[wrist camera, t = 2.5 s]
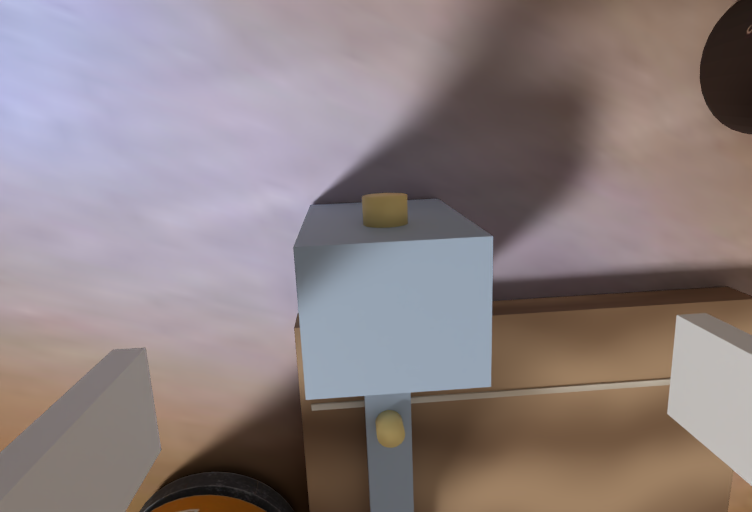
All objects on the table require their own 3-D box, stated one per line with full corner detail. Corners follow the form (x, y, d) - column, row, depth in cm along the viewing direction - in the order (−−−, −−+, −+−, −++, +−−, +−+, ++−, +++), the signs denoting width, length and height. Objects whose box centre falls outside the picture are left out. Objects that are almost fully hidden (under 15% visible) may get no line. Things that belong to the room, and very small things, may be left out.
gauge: (308, 183, 24) (290, 213, 15) (437, 177, 24) (493, 203, 15) (332, 510, 28) (328, 683, 19) (441, 501, 28) (487, 667, 19)
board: (297, 313, 25) (294, 329, 23) (727, 286, 26) (759, 299, 24) (314, 520, 28) (312, 550, 26) (701, 487, 29) (728, 514, 27)
